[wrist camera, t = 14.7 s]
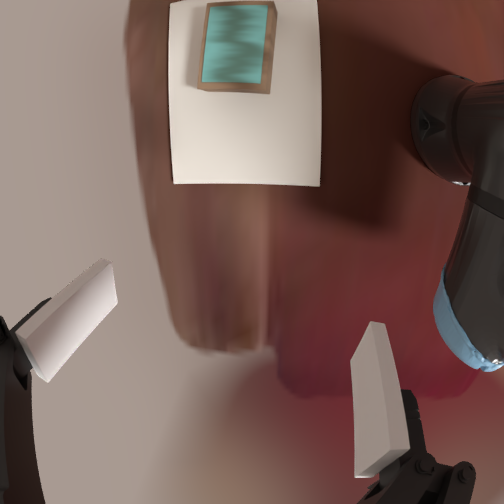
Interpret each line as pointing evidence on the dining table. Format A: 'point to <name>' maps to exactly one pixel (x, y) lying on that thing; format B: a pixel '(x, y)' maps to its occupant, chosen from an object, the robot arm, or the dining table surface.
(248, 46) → the walnut plaque
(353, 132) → the dining table surface
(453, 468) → the robot arm
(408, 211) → the dining table surface
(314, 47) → the cream white flat board
